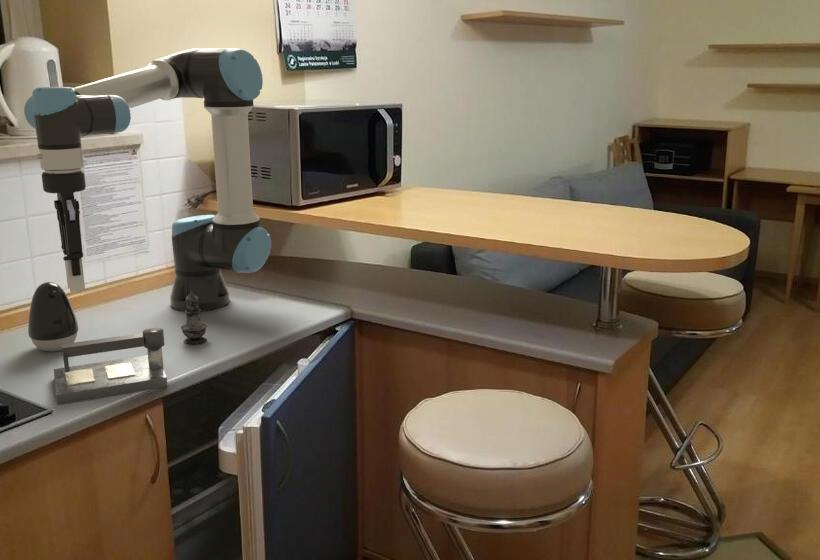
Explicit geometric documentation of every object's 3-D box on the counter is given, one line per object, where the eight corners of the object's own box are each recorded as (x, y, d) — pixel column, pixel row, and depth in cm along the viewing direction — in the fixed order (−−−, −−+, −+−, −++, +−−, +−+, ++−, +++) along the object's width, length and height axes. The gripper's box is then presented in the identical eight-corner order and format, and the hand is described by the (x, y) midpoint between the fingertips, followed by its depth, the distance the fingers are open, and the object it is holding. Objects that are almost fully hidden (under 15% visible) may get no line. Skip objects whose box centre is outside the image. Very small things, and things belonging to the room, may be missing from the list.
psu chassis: (158, 362, 168) (156, 335, 167) (169, 386, 156) (167, 356, 155) (54, 378, 160) (50, 349, 158) (57, 404, 148) (53, 374, 146)
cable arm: (163, 352, 163) (161, 326, 162) (167, 358, 160) (164, 332, 158) (64, 366, 155) (61, 340, 154) (65, 373, 152) (62, 347, 150)
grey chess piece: (182, 346, 178) (177, 295, 174) (181, 338, 183) (177, 288, 180) (208, 344, 179) (205, 293, 176) (207, 335, 185) (204, 286, 181)
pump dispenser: (36, 359, 170) (27, 292, 166) (26, 345, 178) (17, 281, 174) (85, 349, 176) (78, 284, 172) (73, 336, 184) (66, 273, 180)
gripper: (36, 167, 155) (51, 282, 161) (46, 176, 142) (61, 301, 148) (77, 164, 158) (90, 277, 165) (90, 173, 146) (103, 295, 152)
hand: (76, 288), depth 157 cm, fingers open, 2 cm apart
